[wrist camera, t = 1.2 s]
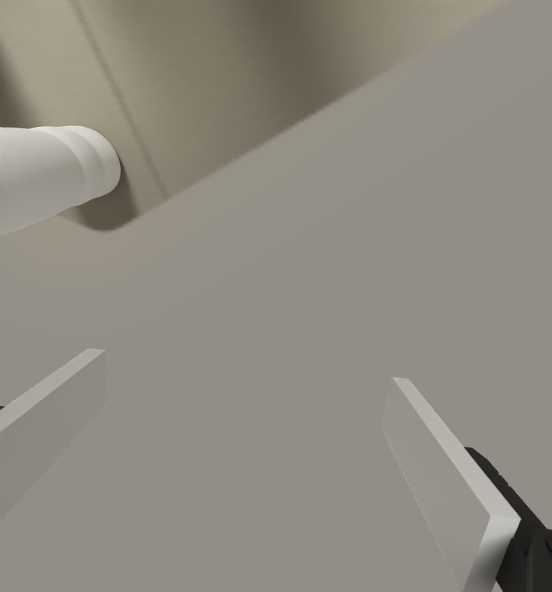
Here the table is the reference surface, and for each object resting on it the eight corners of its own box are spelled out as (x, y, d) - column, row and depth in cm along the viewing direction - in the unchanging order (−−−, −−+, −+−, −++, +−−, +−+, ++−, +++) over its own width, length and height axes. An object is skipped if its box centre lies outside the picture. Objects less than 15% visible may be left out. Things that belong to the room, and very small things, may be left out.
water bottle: (70, 194, 35) (-258, 308, 14) (47, 125, 32) (-443, 131, 10) (130, 194, 35) (-104, 308, 14) (113, 125, 32) (-234, 132, 10)
